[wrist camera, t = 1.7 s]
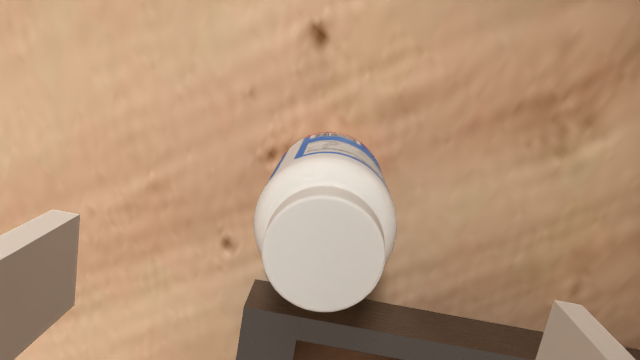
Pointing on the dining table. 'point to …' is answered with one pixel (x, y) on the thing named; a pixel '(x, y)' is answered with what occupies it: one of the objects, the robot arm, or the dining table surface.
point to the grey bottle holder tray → (377, 332)
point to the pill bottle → (325, 223)
